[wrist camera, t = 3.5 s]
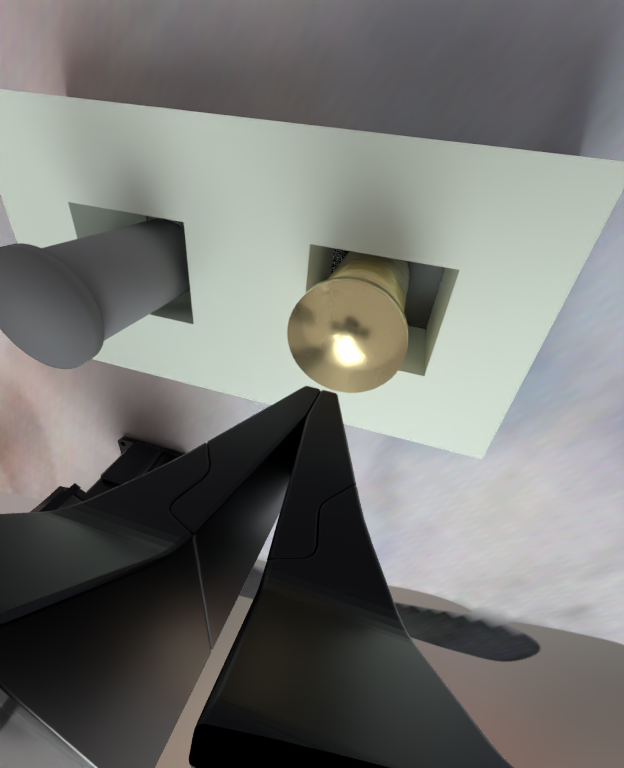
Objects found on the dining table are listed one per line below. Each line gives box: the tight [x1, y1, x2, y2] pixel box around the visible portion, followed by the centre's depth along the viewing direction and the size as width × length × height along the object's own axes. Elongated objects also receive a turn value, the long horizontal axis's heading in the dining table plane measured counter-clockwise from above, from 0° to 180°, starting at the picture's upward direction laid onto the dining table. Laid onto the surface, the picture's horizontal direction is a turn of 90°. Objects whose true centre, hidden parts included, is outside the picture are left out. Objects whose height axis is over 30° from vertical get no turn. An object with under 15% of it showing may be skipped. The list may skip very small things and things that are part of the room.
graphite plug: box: [0, 218, 190, 369], centre depth 15 cm, size 4×4×8 cm
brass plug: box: [287, 251, 410, 393], centre depth 16 cm, size 4×4×8 cm
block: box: [0, 89, 624, 459], centre depth 18 cm, size 12×24×5 cm, turn 84°
